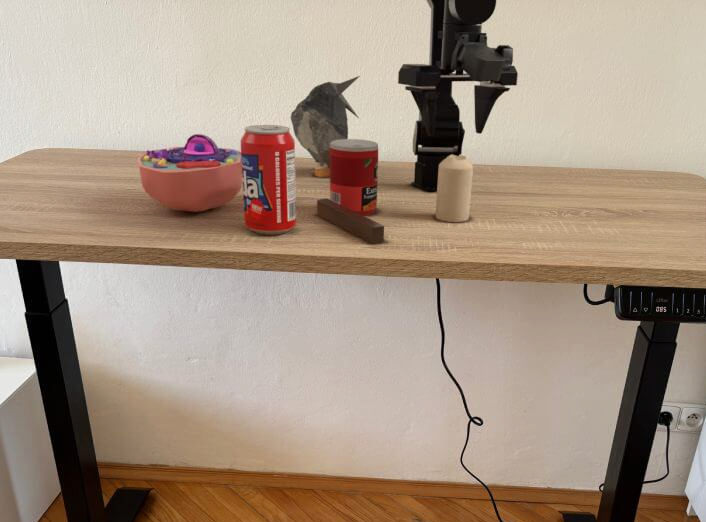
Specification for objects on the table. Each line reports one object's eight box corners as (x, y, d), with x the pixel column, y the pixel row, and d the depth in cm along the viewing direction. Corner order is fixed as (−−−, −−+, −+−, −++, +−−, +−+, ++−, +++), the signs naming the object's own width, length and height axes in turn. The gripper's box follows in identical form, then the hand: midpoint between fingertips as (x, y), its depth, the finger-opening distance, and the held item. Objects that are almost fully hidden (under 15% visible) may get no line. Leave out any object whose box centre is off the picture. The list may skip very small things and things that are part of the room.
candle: (445, 223, 127) (449, 160, 122) (429, 215, 131) (433, 153, 126) (474, 220, 129) (480, 158, 124) (458, 212, 133) (463, 151, 128)
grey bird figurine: (275, 171, 157) (271, 74, 149) (334, 162, 167) (334, 71, 158) (319, 184, 148) (318, 82, 140) (378, 174, 158) (381, 78, 149)
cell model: (115, 215, 125) (105, 142, 119) (186, 190, 141) (181, 124, 136) (206, 229, 119) (200, 153, 114) (269, 201, 136) (267, 133, 130)
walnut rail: (327, 213, 130) (327, 198, 129) (383, 242, 116) (384, 225, 115) (317, 214, 129) (316, 199, 128) (372, 243, 115) (372, 227, 114)
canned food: (371, 218, 128) (372, 148, 123) (324, 214, 130) (324, 145, 124) (381, 207, 135) (383, 140, 130) (336, 203, 136) (336, 137, 131)
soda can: (301, 235, 118) (299, 131, 111) (248, 238, 116) (243, 132, 109) (291, 221, 125) (288, 123, 117) (241, 224, 122) (236, 123, 115)
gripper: (440, 24, 106) (433, 144, 113) (546, 27, 114) (534, 139, 121) (398, 22, 115) (394, 134, 121) (500, 25, 123) (490, 129, 130)
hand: (455, 134), depth 123 cm, fingers open, 9 cm apart
